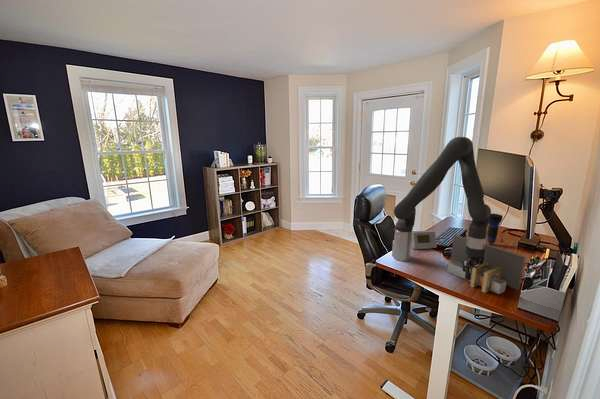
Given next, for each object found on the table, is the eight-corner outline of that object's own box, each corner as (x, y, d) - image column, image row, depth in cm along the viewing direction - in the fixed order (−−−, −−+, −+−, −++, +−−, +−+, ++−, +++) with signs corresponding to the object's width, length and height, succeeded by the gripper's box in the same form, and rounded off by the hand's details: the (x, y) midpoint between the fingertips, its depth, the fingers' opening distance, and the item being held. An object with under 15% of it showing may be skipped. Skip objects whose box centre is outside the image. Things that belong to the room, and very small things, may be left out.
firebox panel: (450, 261, 147) (453, 234, 143) (451, 261, 147) (455, 234, 144) (517, 289, 119) (524, 257, 116) (519, 289, 120) (525, 256, 116)
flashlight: (488, 241, 175) (493, 212, 170) (500, 245, 167) (505, 215, 163) (479, 243, 172) (484, 213, 168) (491, 247, 165) (496, 217, 160)
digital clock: (412, 250, 163) (413, 233, 161) (407, 244, 172) (408, 229, 170) (439, 250, 162) (441, 234, 160) (433, 244, 171) (435, 229, 168)
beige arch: (470, 286, 123) (472, 267, 121) (484, 279, 128) (487, 261, 126) (473, 287, 122) (476, 268, 119) (488, 280, 127) (490, 262, 125)
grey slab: (447, 271, 136) (448, 262, 135) (453, 268, 139) (454, 260, 137) (498, 294, 115) (500, 284, 114) (504, 291, 118) (506, 281, 117)
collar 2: (481, 291, 118) (484, 272, 116) (496, 284, 124) (499, 265, 122) (485, 292, 117) (488, 273, 115) (499, 285, 123) (502, 267, 120)
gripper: (476, 240, 131) (471, 271, 135) (458, 245, 124) (454, 278, 128) (492, 245, 124) (487, 277, 128) (474, 251, 118) (470, 285, 122)
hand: (470, 277), depth 128 cm, fingers closed on grey slab, 5 cm apart
